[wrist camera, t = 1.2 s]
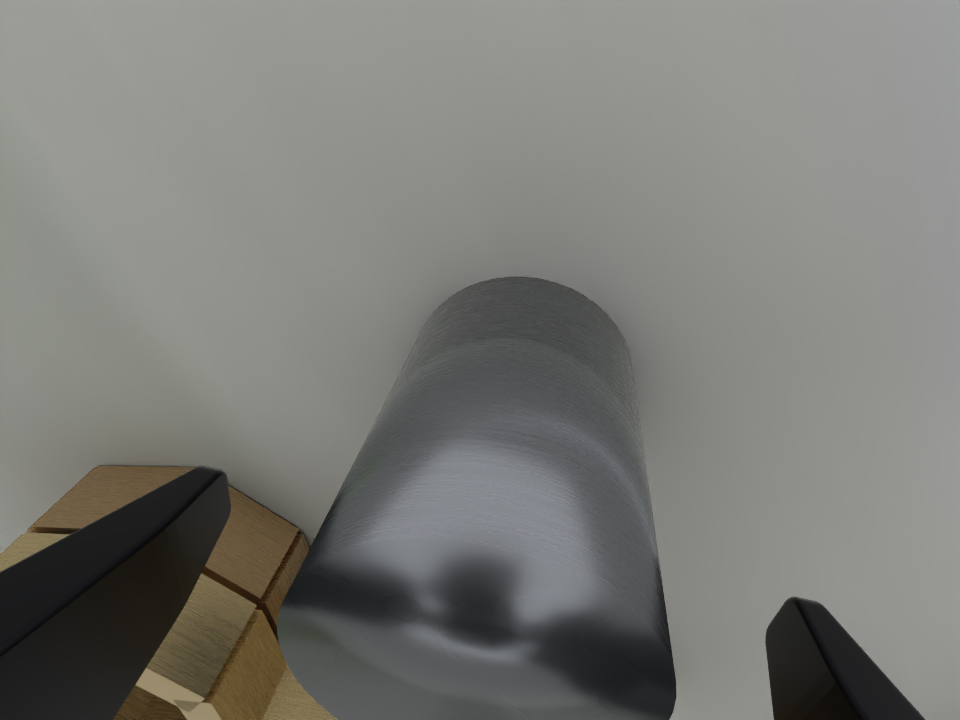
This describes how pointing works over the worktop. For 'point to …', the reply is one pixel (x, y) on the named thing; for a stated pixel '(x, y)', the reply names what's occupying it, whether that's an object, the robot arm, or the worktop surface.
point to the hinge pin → (492, 531)
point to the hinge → (203, 607)
